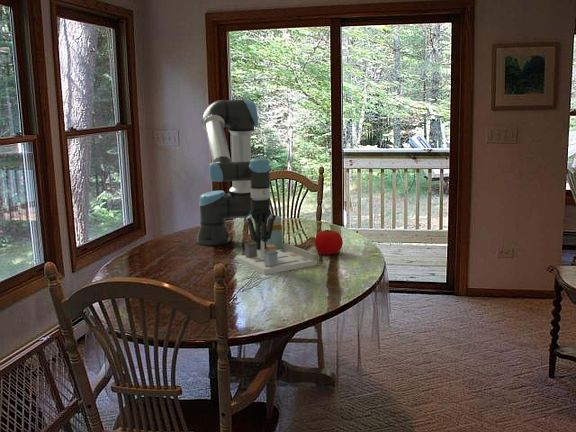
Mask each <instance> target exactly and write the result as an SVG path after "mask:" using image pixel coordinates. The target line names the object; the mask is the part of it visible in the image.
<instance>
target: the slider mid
mask: <svg viewBox="0 0 576 432" xmlns="http://www.w3.org/2000/svg"><path fill="white" fill-rule="evenodd" d="M269 250H274V251H276V246H274V245H272V244H271V245H266V249H265V251H269ZM264 259H265V258H264Z"/></svg>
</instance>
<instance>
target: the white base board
mask: <svg viewBox="0 0 576 432" xmlns="http://www.w3.org/2000/svg"><path fill="white" fill-rule="evenodd" d="M276 251H277V252H278V254H277V265H275V266H267V265H265V259H264V258H259V257H258V252H257V256H255V257H247V256H245V254H244V255H238V256H236V257H235V261H236V263H239V264H241V265H243V266H246V267H247V268H249V269H251V270H254V271H255V272H258V273H260V274H262V275H263V276H265V275H270V274H277V273H281V272H286V271H292V270H297V269H301V268H302V269H303V268H308V267H313V266H317V265H318V254H316V253H314V252H312V251H309V250H306V249H303V248H300V247H298V246H295V245H293V244H290V243H288V242H284V243H283V242H282V249H279V250H276Z"/></svg>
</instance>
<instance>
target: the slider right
mask: <svg viewBox="0 0 576 432" xmlns="http://www.w3.org/2000/svg"><path fill="white" fill-rule="evenodd" d="M277 254H278V252H277V251H274V250H269V251H264V256H265V265H267V266H275V265H277Z"/></svg>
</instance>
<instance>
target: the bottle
mask: <svg viewBox="0 0 576 432" xmlns="http://www.w3.org/2000/svg"><path fill="white" fill-rule="evenodd" d="M268 219H269V217H268ZM268 219H267V224H268ZM271 244H272V245H274V246H276V250H279V249H283V226H282V217H281V215H276V218H275V220H274V223H273V228H272V234H271V238H270V239H268V241H267V242H266V245H271Z"/></svg>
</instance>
